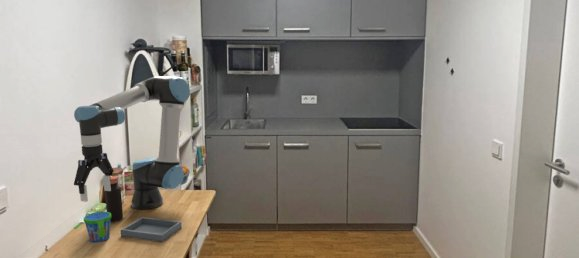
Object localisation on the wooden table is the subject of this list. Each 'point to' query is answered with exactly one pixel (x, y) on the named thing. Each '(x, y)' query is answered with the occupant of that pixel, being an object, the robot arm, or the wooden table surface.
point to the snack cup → (98, 226)
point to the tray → (151, 229)
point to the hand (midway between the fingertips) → (96, 195)
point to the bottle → (114, 200)
